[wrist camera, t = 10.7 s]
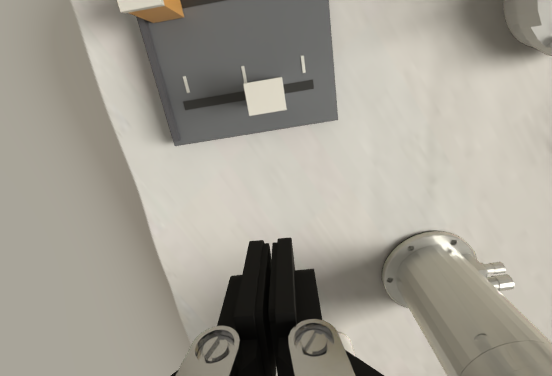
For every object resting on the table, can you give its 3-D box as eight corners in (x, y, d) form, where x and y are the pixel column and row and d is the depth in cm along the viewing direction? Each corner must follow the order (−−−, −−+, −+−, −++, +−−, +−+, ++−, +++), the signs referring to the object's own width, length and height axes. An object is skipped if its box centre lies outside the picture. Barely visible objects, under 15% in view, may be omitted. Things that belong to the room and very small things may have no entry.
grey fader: (280, 75, 29) (282, 77, 23) (284, 102, 30) (286, 109, 24) (249, 81, 29) (243, 83, 24) (254, 107, 30) (249, 116, 25)
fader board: (315, -112, 26) (319, -133, 23) (334, 117, 33) (339, 120, 30) (119, -72, 27) (102, -87, 24) (180, 142, 34) (172, 147, 31)
